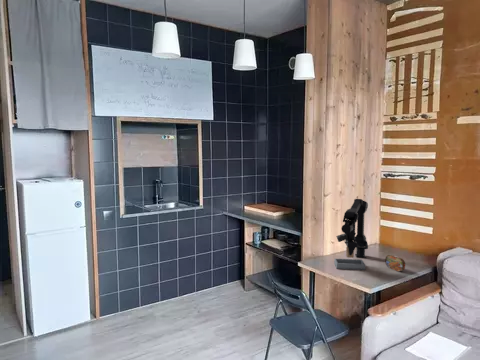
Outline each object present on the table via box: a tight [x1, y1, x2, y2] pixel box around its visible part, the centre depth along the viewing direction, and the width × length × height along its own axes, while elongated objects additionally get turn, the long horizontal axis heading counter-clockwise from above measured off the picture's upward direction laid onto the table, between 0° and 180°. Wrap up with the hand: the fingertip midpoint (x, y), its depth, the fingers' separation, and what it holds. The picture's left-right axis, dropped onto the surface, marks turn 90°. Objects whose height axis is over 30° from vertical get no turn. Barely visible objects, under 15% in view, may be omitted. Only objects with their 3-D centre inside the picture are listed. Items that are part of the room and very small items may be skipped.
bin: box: [333, 258, 366, 271], centre depth 239 cm, size 11×18×4 cm, turn 83°
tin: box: [384, 254, 406, 272], centre depth 235 cm, size 15×3×8 cm, turn 21°
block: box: [345, 246, 355, 259], centre depth 239 cm, size 4×4×6 cm
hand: (349, 254), depth 239 cm, fingers closed on block, 4 cm apart
